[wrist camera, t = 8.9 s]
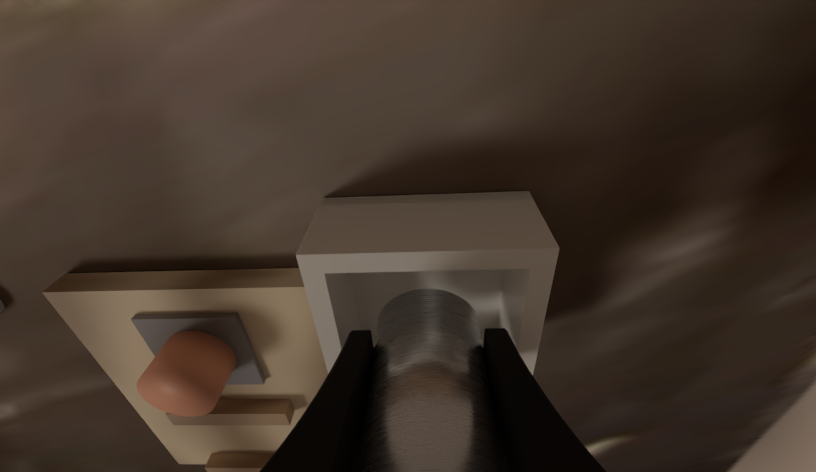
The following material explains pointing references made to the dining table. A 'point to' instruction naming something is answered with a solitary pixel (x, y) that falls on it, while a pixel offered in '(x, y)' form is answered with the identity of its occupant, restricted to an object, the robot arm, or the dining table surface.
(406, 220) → the tray
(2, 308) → the handheld gaming console
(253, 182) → the dining table surface
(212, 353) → the test button
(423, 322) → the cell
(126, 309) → the beige button panel
